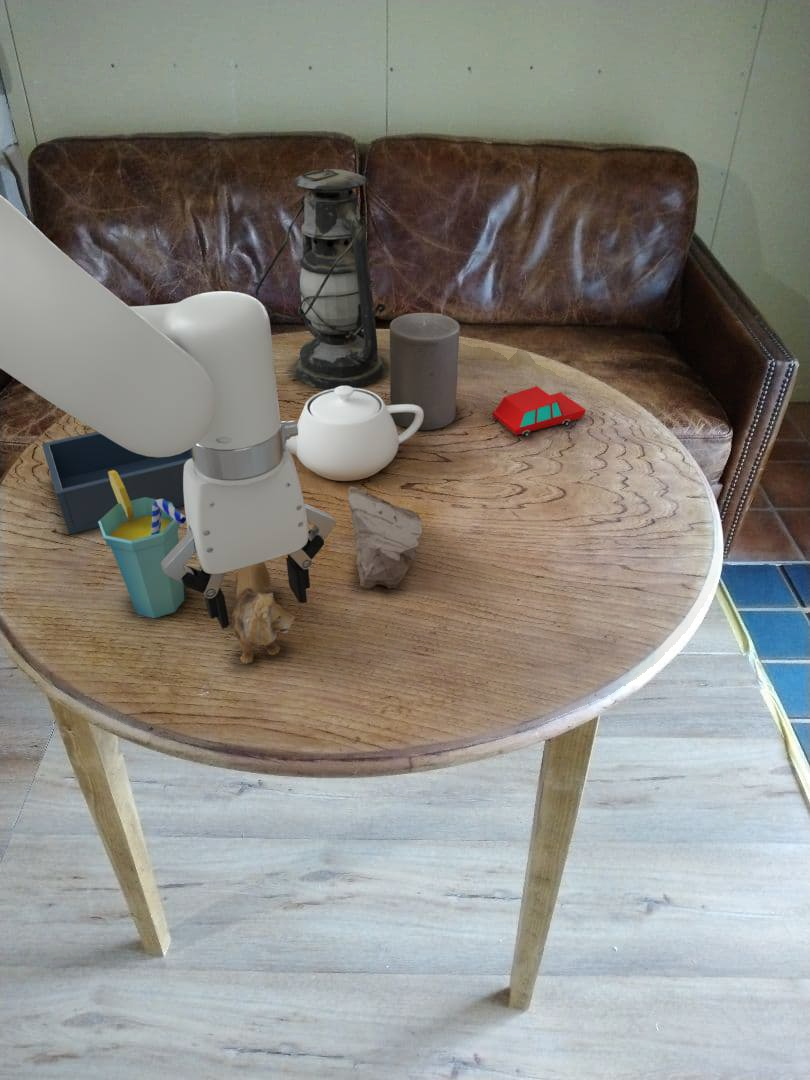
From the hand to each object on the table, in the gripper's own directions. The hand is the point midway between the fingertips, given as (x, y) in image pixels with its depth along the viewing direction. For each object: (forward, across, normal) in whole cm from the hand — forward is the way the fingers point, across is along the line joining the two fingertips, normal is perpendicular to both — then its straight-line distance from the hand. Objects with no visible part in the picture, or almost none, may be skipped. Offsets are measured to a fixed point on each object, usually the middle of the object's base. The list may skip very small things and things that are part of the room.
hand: (260, 605), depth 77 cm
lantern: (+4, -29, -53) cm, 61 cm away
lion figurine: (+4, 0, 0) cm, 4 cm away
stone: (+4, -16, -6) cm, 18 cm away
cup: (+4, +8, -9) cm, 13 cm away
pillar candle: (+4, -36, -34) cm, 50 cm away
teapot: (+4, -20, -27) cm, 34 cm away
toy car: (+4, -50, -25) cm, 56 cm away
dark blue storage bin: (+4, +6, -33) cm, 34 cm away
